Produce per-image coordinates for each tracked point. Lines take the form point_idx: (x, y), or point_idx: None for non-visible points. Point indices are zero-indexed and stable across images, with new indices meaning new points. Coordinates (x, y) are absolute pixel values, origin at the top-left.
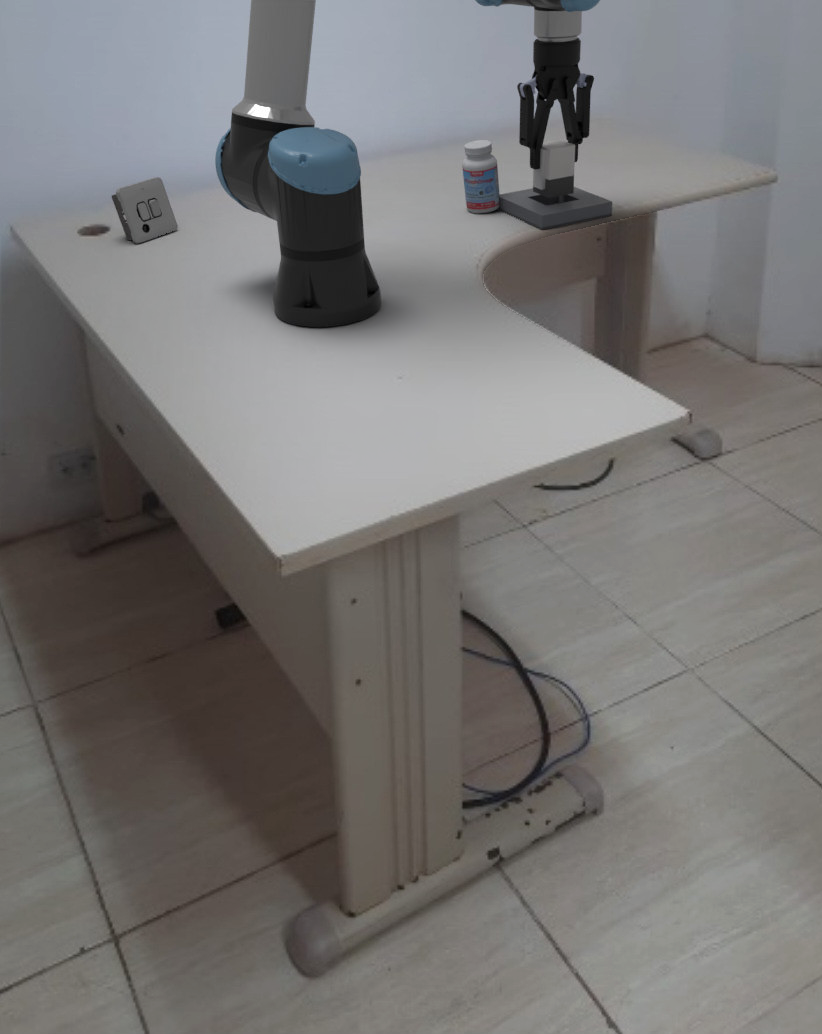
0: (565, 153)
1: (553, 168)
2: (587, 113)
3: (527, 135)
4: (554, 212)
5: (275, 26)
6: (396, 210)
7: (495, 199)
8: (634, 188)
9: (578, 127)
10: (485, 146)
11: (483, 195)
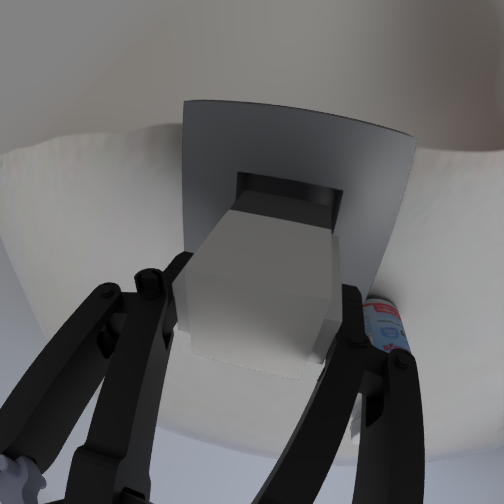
0: (246, 260)
1: (313, 244)
2: (54, 351)
3: (419, 395)
4: (375, 132)
5: None
6: (432, 380)
7: (373, 312)
8: (84, 218)
9: (113, 340)
10: None
11: (399, 327)
